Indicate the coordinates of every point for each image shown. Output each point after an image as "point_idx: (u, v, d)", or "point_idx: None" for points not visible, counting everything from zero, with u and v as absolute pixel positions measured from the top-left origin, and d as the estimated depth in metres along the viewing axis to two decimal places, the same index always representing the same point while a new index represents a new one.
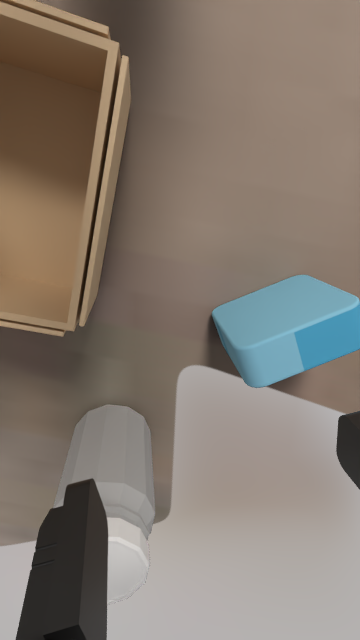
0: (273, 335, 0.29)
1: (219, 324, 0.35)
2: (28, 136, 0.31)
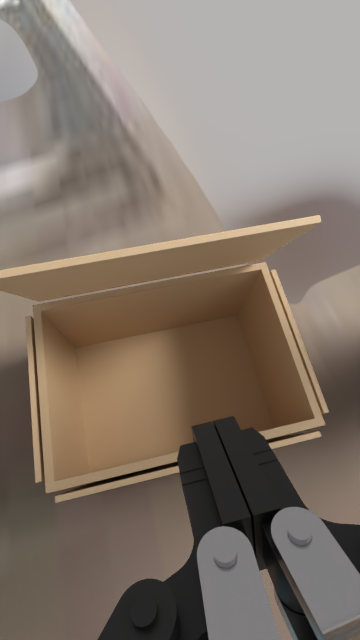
0: None
1: None
2: (206, 369, 0.36)
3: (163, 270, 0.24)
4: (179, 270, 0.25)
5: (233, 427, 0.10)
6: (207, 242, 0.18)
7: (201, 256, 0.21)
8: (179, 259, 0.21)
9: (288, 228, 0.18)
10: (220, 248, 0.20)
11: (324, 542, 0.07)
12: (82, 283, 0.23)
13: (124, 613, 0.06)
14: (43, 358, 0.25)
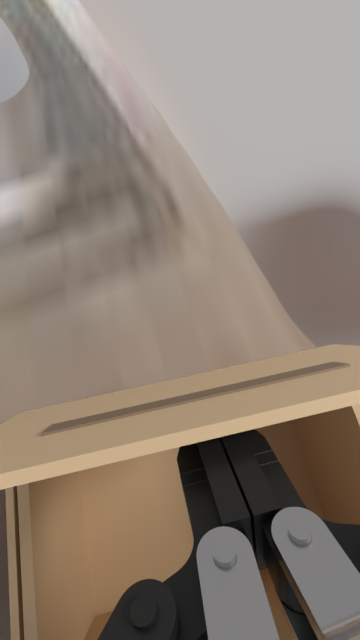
0: None
1: None
2: None
3: None
4: None
5: None
6: None
7: None
8: None
9: None
10: None
11: (324, 542, 0.07)
12: None
13: (123, 613, 0.06)
14: (28, 509, 0.17)
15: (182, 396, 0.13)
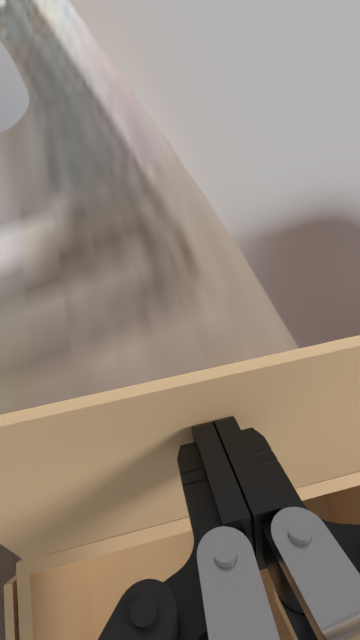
0: None
1: None
2: None
3: None
4: None
5: (233, 427, 0.10)
6: (301, 361, 0.10)
7: (294, 422, 0.12)
8: (256, 428, 0.12)
9: None
10: (325, 394, 0.12)
11: (324, 542, 0.07)
12: (92, 498, 0.13)
13: (124, 613, 0.06)
14: None
15: None
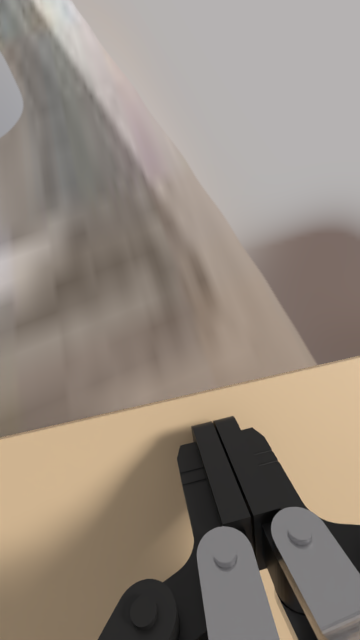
0: None
1: None
2: None
3: None
4: None
5: (233, 427, 0.10)
6: (282, 379, 0.12)
7: (309, 471, 0.12)
8: None
9: None
10: (324, 427, 0.12)
11: (324, 542, 0.07)
12: (101, 586, 0.11)
13: (124, 613, 0.06)
14: None
15: None
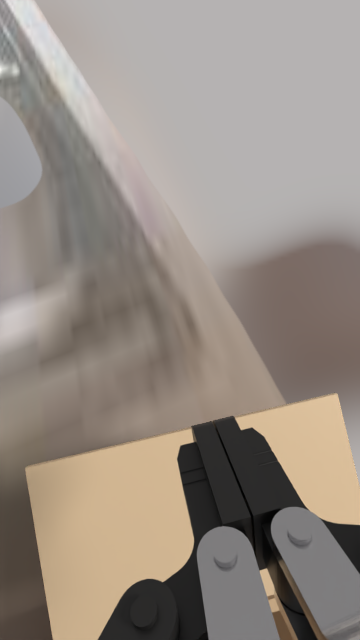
0: None
1: None
2: None
3: None
4: None
5: (233, 427, 0.10)
6: (236, 420, 0.20)
7: None
8: None
9: (310, 403, 0.20)
10: None
11: (324, 542, 0.07)
12: (123, 551, 0.18)
13: (124, 613, 0.06)
14: None
15: None
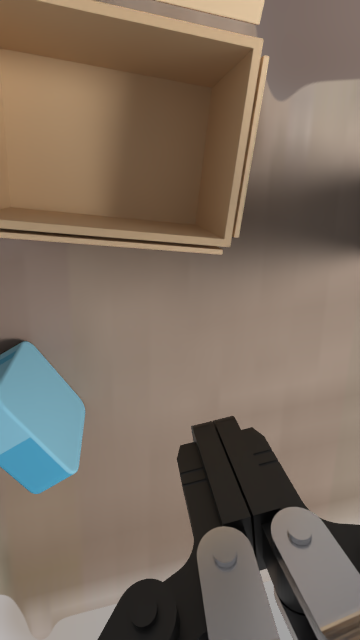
0: (21, 421, 0.29)
1: (14, 357, 0.34)
2: (153, 143, 0.33)
3: None
4: None
5: (233, 427, 0.10)
6: None
7: None
8: None
9: None
10: None
11: (324, 542, 0.07)
12: None
13: (124, 613, 0.06)
14: None
15: None
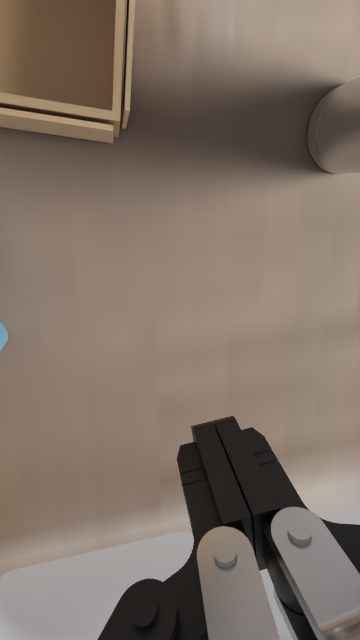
0: None
1: None
2: (58, 31, 0.31)
3: None
4: None
5: (233, 427, 0.10)
6: None
7: None
8: None
9: None
10: None
11: (324, 542, 0.07)
12: None
13: (124, 613, 0.06)
14: None
15: None
